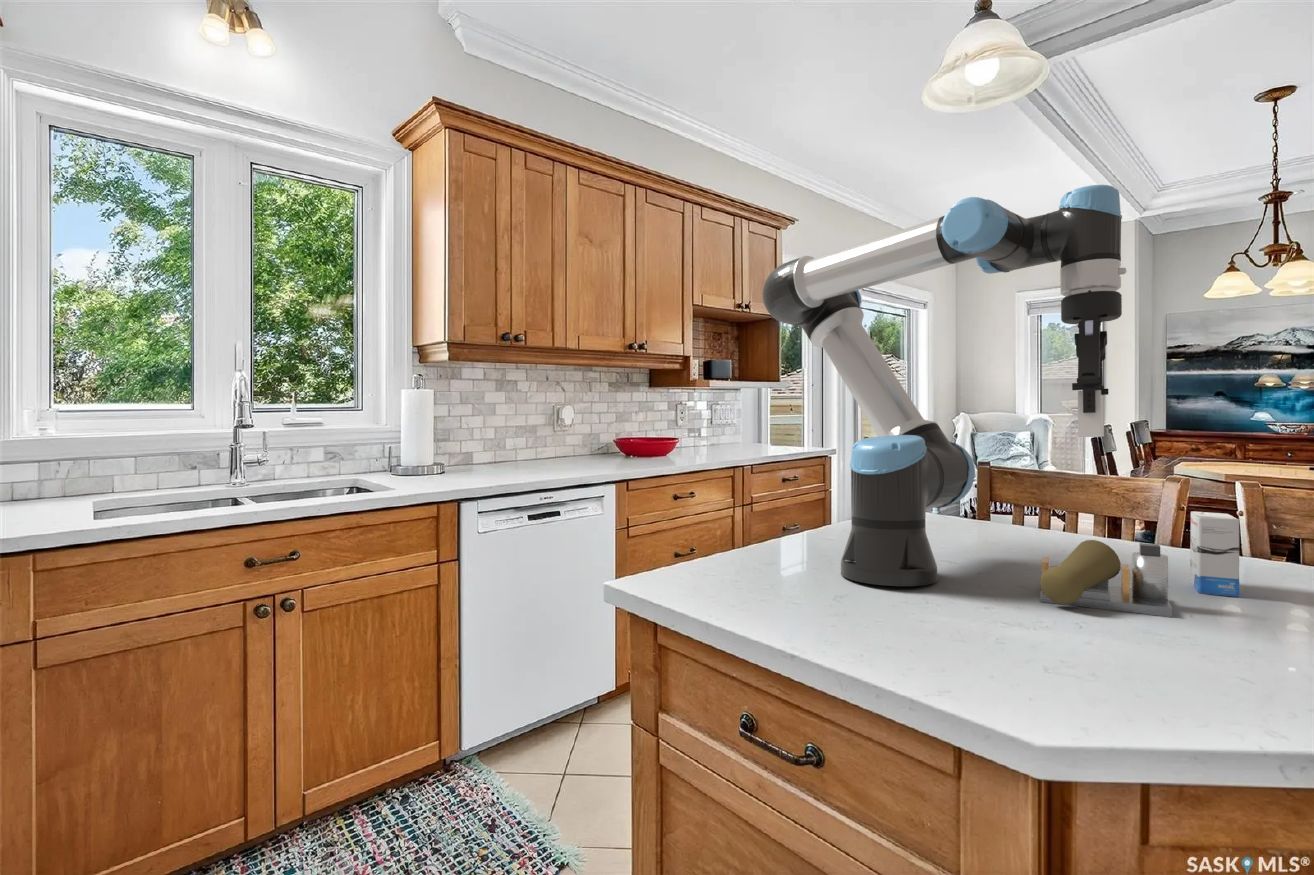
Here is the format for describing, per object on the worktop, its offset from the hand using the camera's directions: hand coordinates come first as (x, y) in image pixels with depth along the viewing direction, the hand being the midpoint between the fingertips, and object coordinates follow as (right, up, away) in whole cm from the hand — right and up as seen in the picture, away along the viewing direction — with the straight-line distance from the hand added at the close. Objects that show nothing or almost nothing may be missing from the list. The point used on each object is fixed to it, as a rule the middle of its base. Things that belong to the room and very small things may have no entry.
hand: (1091, 437), depth 97 cm
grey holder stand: (0, -24, -2) cm, 24 cm away
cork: (-1, -18, -2) cm, 18 cm away
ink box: (+21, -24, +4) cm, 32 cm away
